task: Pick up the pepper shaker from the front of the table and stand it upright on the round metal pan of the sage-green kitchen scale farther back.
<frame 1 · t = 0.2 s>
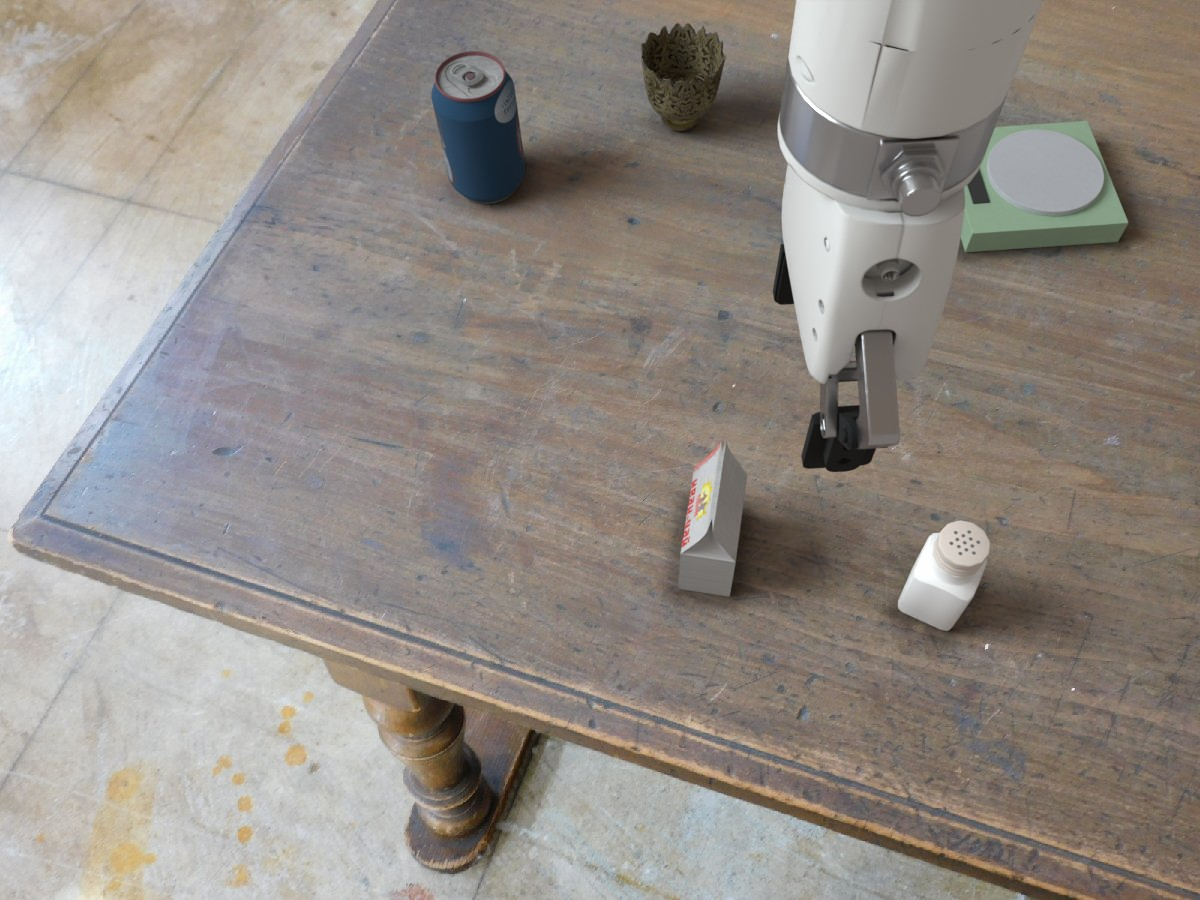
hand: (818, 376, 53), 27 cm above the table, tool pointing down, fingers open, 9 cm apart
kitchen scale: (1023, 194, 94), on the table
pepper shaker: (929, 601, 76), on the table
cup: (680, 122, 101), on the table
soda can: (489, 182, 98), on the table
grey upright carton: (709, 551, 79), on the table
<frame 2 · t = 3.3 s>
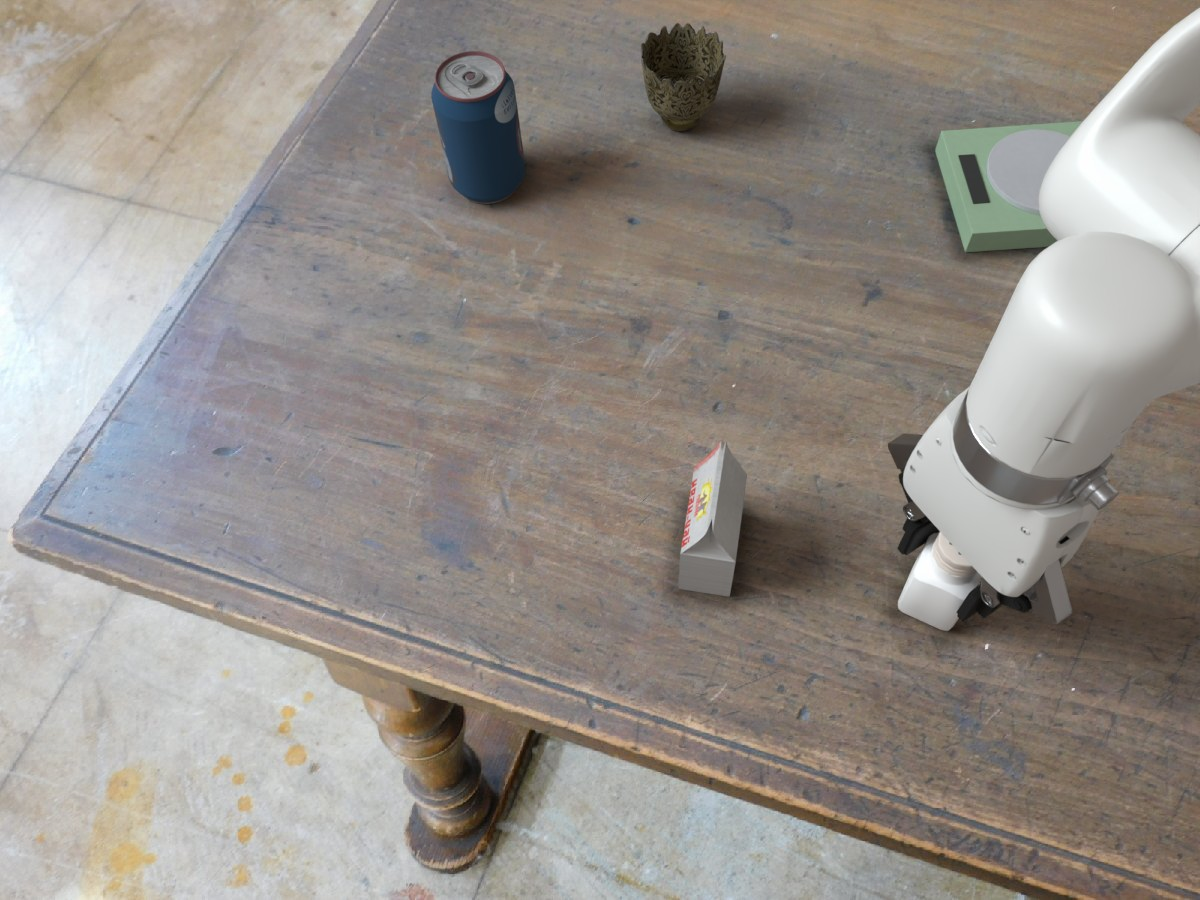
hand: (946, 572, 72), 5 cm above the table, tool pointing down, fingers closed on pepper shaker, 5 cm apart
pepper shaker: (929, 601, 76), on the table, touching gripper
everything else where it was.
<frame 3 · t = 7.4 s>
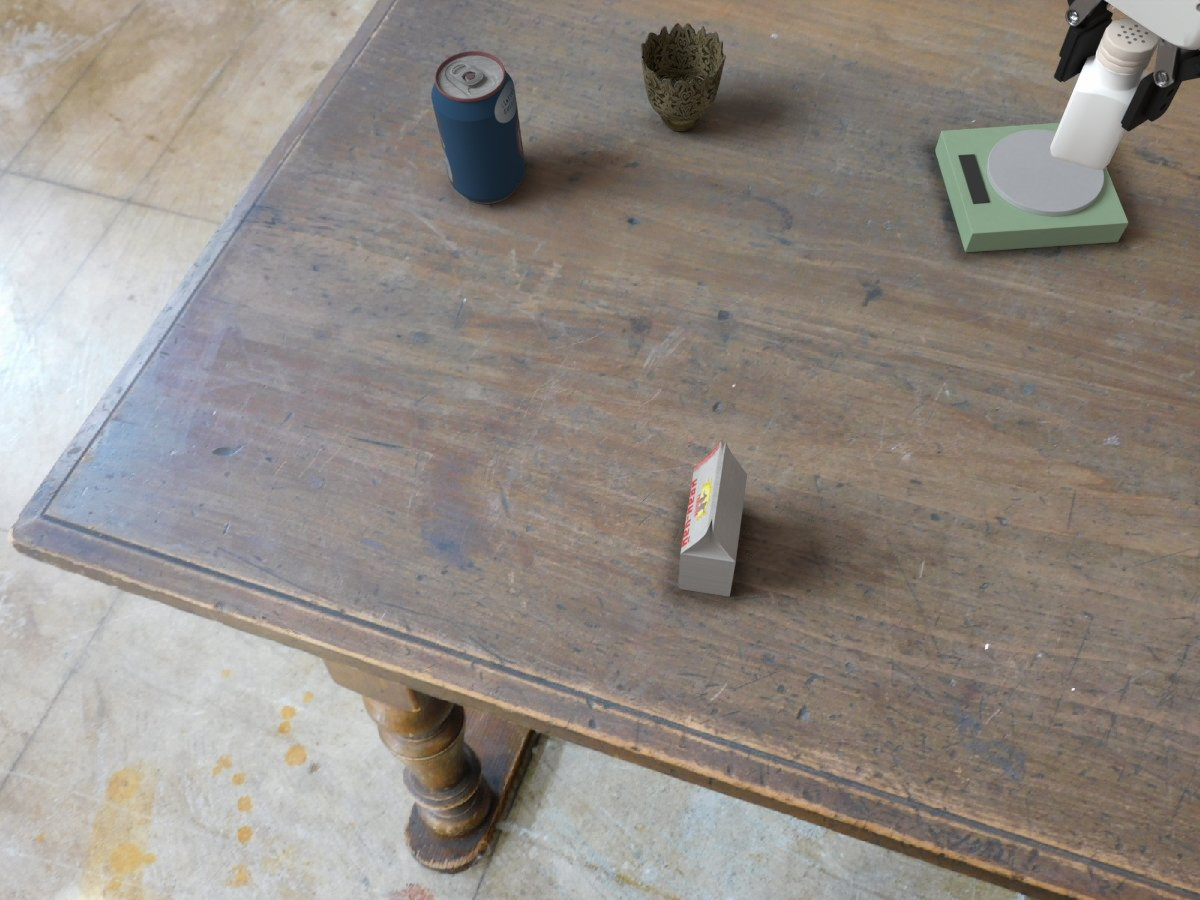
hand: (1106, 93, 71), 21 cm above the table, tool pointing down, fingers closed on pepper shaker, 5 cm apart
pepper shaker: (1080, 150, 75), point 16 cm above the table, touching gripper
everything else where it was.
when the fingers open (8 cm above the table, at t = 11.7 s): pepper shaker stays where it is, resting on kitchen scale.
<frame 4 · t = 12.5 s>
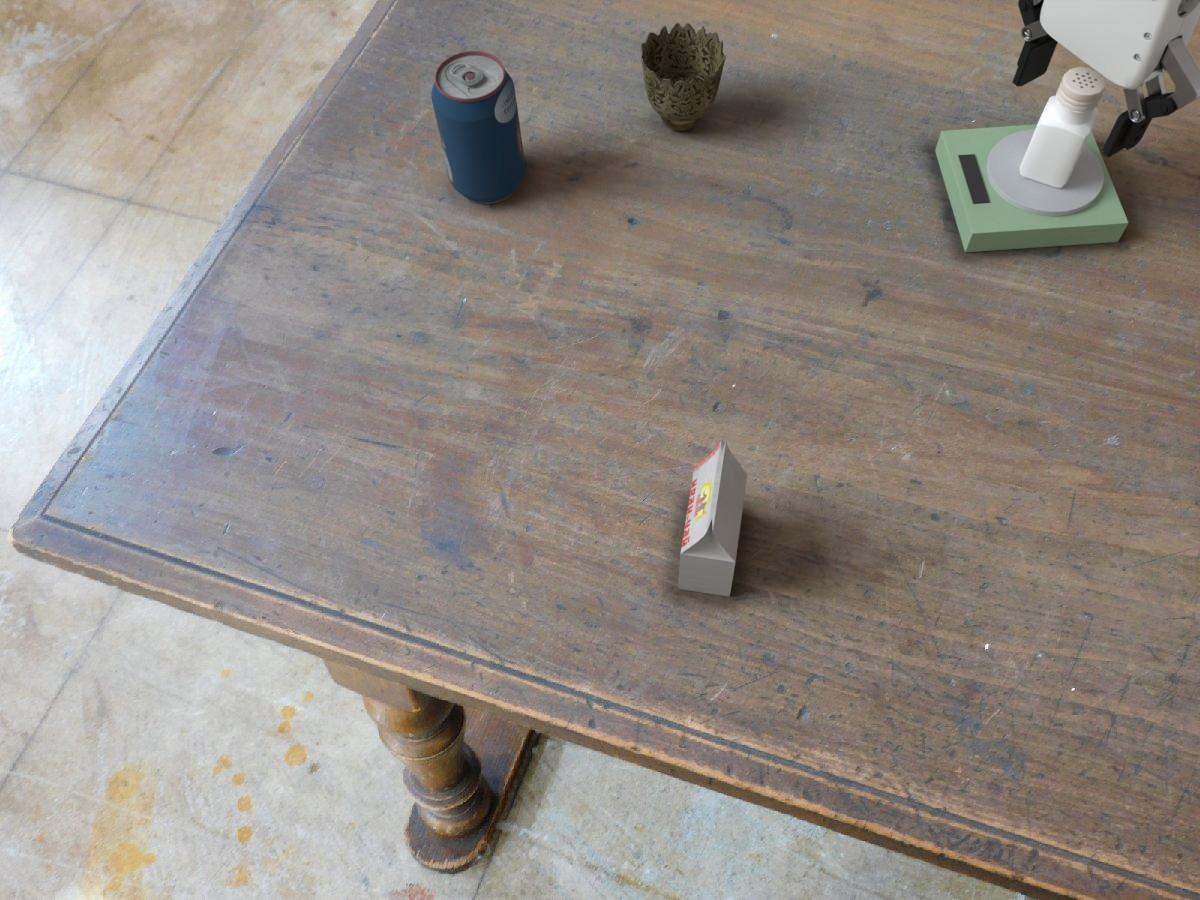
hand: (1072, 112, 86), 9 cm above the table, tool pointing down, fingers open, 9 cm apart
pepper shaker: (1044, 171, 92), point 3 cm above the table, touching kitchen scale
everything else where it was.
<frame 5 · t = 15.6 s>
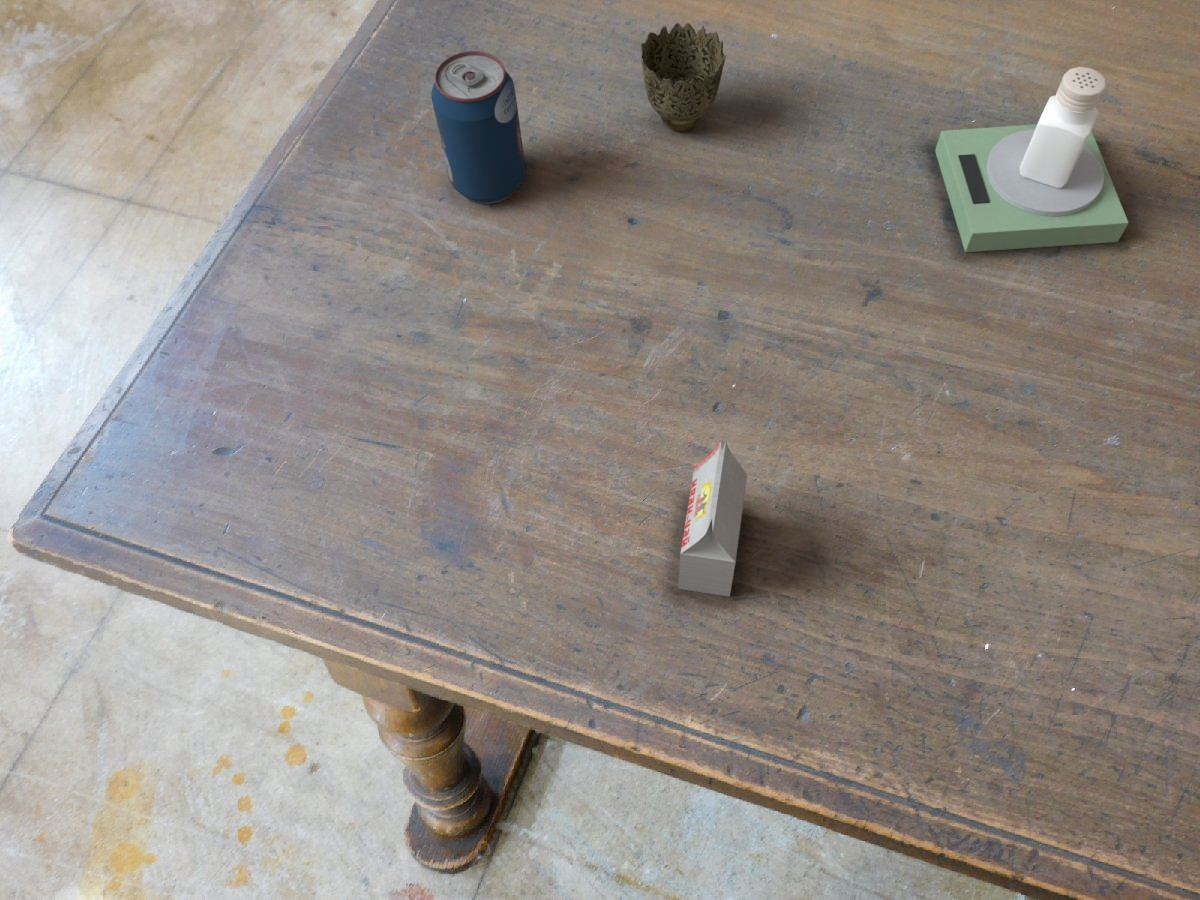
nothing on the table moved.
at the end: pepper shaker inside the target area on the kitchen scale (0.0 cm from its centre), point 2.8 cm above the kitchen scale's base; pepper shaker tilted 0°; the gripper is holding nothing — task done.
